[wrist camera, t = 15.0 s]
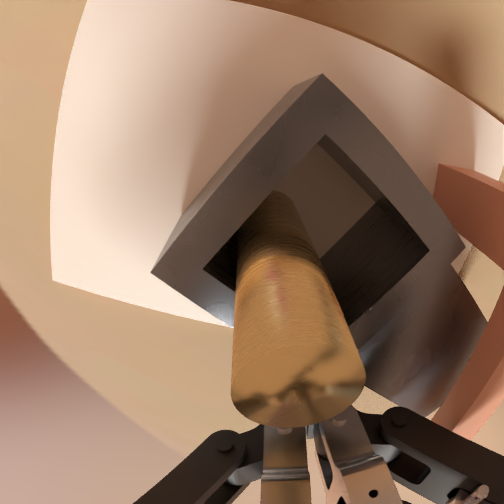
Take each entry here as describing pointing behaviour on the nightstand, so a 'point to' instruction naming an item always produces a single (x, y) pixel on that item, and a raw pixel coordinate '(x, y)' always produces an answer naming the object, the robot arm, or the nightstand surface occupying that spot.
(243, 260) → the cylinder
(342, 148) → the link
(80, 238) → the board
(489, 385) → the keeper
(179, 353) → the nightstand surface
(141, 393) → the nightstand surface
